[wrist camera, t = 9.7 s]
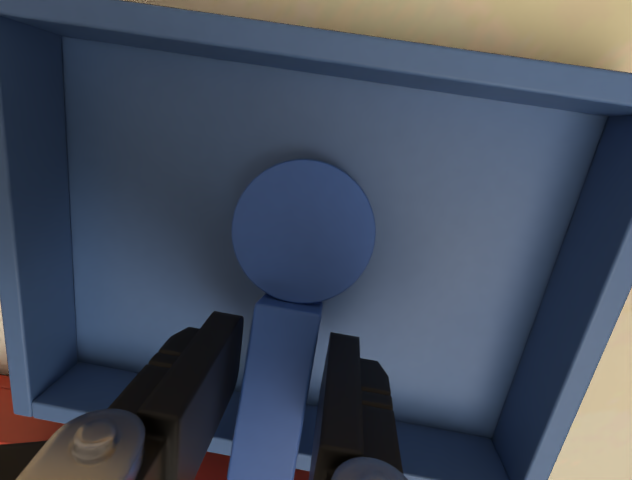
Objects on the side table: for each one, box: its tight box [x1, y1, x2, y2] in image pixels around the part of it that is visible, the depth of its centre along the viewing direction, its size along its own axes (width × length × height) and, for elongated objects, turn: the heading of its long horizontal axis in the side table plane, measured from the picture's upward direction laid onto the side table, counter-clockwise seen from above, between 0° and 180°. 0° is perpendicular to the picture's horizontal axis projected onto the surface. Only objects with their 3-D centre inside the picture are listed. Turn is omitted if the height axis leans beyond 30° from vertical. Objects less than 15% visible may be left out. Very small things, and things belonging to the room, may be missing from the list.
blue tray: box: [0, 0, 632, 480], centre depth 10 cm, size 15×11×3 cm
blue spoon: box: [227, 159, 376, 480], centre depth 9 cm, size 8×4×2 cm, turn 172°
